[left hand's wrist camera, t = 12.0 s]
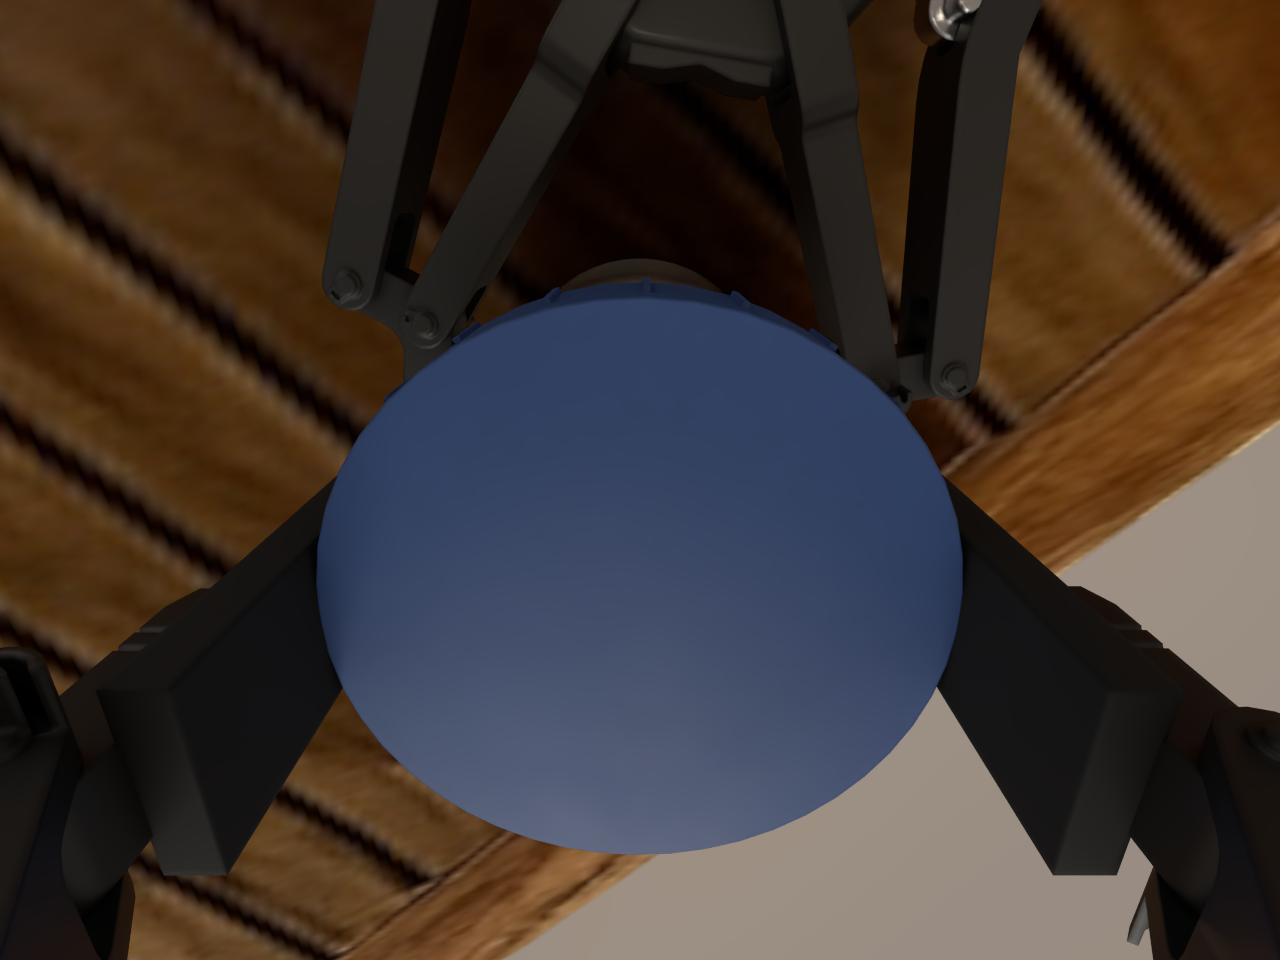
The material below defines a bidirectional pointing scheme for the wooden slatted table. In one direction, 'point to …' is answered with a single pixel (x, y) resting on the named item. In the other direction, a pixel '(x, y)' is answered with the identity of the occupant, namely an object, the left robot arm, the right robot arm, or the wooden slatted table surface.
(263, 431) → the wooden slatted table surface
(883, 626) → the lid
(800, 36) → the right robot arm
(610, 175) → the wooden slatted table surface
